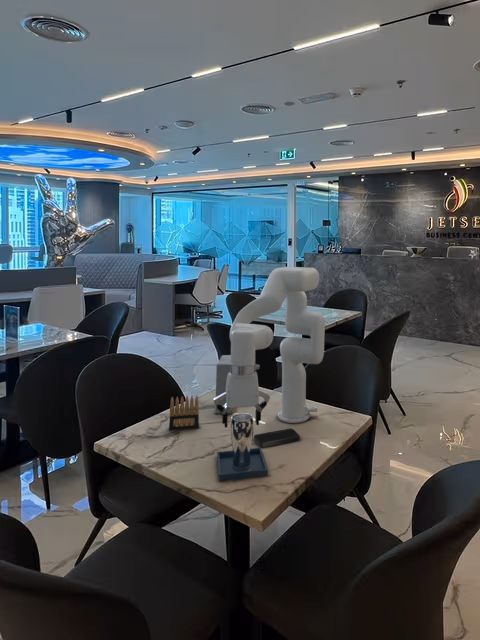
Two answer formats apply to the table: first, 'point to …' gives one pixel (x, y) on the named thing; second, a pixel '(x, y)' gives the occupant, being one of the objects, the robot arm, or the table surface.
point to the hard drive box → (222, 379)
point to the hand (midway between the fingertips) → (241, 424)
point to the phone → (276, 437)
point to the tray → (229, 473)
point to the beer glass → (241, 440)
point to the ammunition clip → (186, 420)
